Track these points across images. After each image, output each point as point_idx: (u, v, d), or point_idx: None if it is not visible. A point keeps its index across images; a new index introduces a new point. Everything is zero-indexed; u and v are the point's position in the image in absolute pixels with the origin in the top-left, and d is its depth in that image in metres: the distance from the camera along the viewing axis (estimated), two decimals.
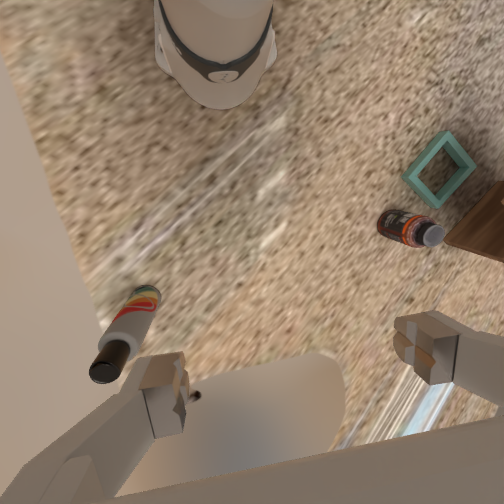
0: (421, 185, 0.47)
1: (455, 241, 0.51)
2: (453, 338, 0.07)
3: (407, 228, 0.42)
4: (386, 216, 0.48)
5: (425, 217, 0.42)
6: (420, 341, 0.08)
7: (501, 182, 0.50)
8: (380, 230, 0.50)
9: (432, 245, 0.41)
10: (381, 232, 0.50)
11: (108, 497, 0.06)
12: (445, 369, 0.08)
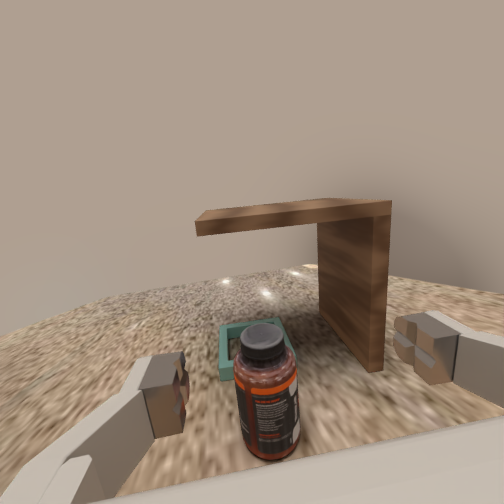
0: None
1: (366, 351, 0.30)
2: (453, 338, 0.07)
3: (235, 375, 0.21)
4: None
5: None
6: (420, 342, 0.08)
7: (319, 309, 0.45)
8: (261, 452, 0.21)
9: (275, 340, 0.20)
10: (266, 452, 0.21)
11: (108, 497, 0.06)
12: (445, 369, 0.08)
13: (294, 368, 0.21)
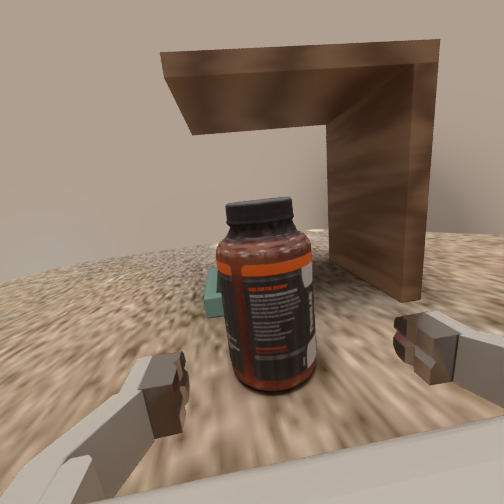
0: None
1: (399, 273, 0.23)
2: (453, 338, 0.07)
3: (218, 258, 0.14)
4: None
5: None
6: (420, 341, 0.08)
7: (330, 254, 0.38)
8: (258, 378, 0.14)
9: (279, 198, 0.13)
10: (267, 378, 0.14)
11: (108, 497, 0.06)
12: (445, 369, 0.08)
13: (309, 246, 0.14)
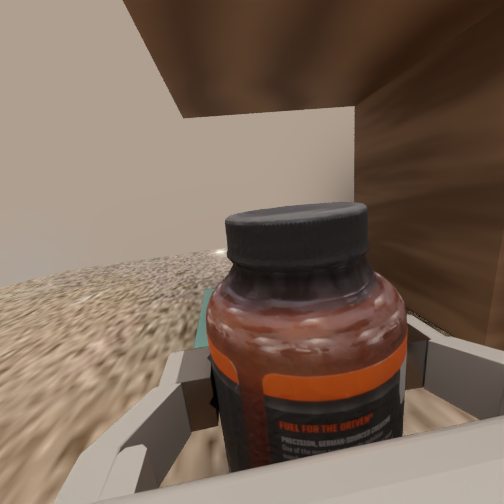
0: None
1: (481, 313, 0.15)
2: (423, 343, 0.07)
3: (210, 334, 0.06)
4: None
5: None
6: None
7: None
8: None
9: (347, 206, 0.06)
10: None
11: None
12: (415, 375, 0.08)
13: (405, 311, 0.06)
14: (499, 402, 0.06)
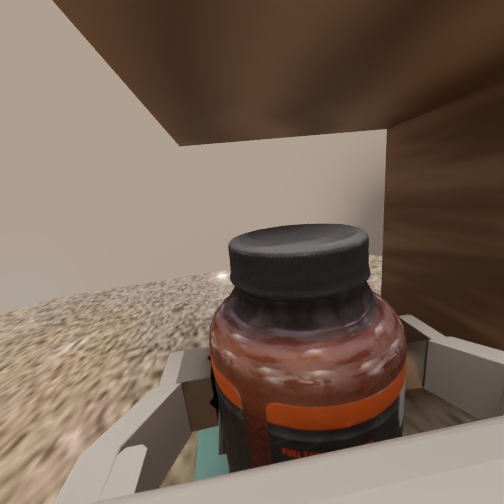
0: None
1: None
2: (423, 343, 0.07)
3: (214, 358, 0.06)
4: None
5: None
6: None
7: None
8: None
9: (349, 236, 0.06)
10: None
11: None
12: (415, 375, 0.08)
13: None
14: (499, 401, 0.06)
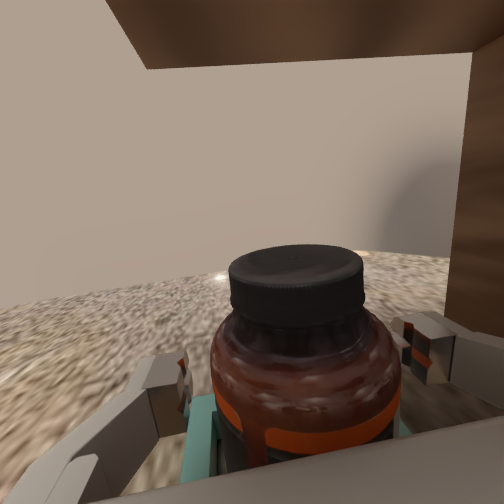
0: None
1: None
2: (450, 339, 0.07)
3: (215, 380, 0.07)
4: None
5: None
6: (417, 342, 0.08)
7: None
8: None
9: (344, 264, 0.06)
10: None
11: (113, 496, 0.06)
12: (442, 370, 0.08)
13: (399, 358, 0.07)
14: None
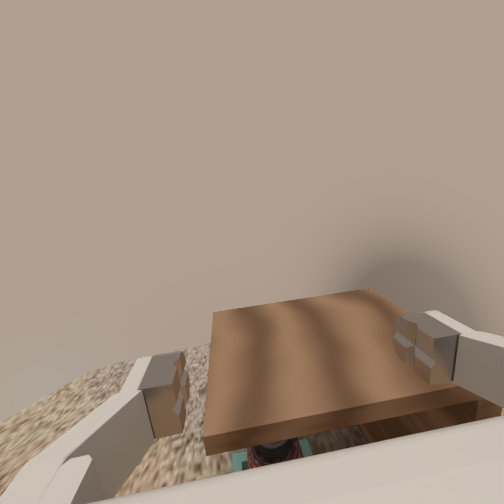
0: None
1: None
2: (453, 338, 0.07)
3: (250, 465, 0.24)
4: None
5: None
6: (420, 341, 0.08)
7: None
8: None
9: None
10: None
11: (108, 497, 0.06)
12: (445, 369, 0.08)
13: None
14: None
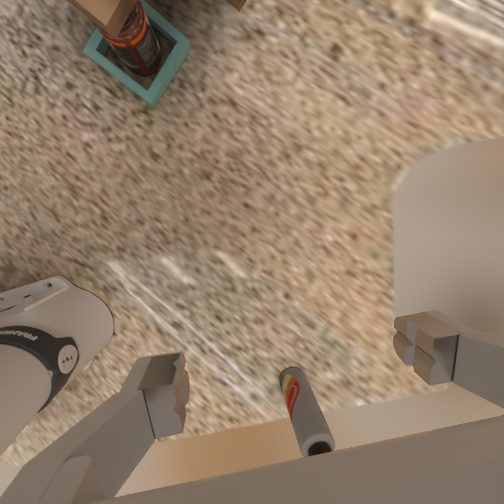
0: (159, 79, 0.34)
1: None
2: (453, 338, 0.07)
3: (113, 40, 0.28)
4: (126, 65, 0.34)
5: None
6: (420, 342, 0.08)
7: None
8: (150, 71, 0.35)
9: None
10: (152, 68, 0.35)
11: (108, 497, 0.06)
12: (445, 369, 0.08)
13: (140, 2, 0.27)
14: None
